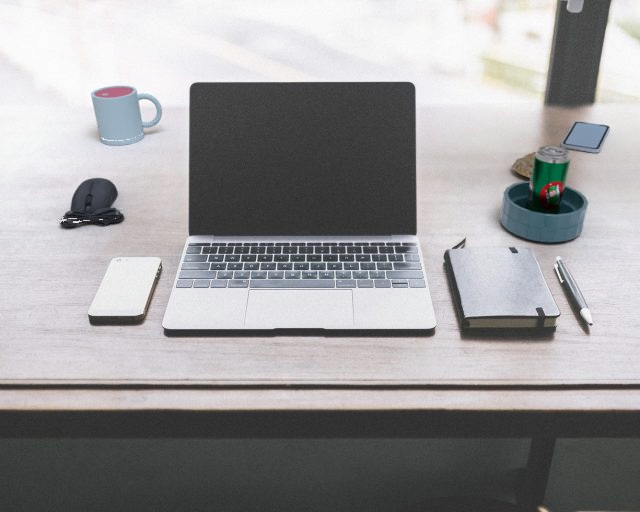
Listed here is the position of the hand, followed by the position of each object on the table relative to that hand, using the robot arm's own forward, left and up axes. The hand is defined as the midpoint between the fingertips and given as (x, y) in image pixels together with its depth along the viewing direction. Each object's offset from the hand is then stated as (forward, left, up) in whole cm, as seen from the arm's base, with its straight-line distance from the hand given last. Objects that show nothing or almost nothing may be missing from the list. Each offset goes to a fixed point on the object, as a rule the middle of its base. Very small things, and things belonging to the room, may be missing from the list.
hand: (567, 5), depth 89 cm
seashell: (-2, -11, -31) cm, 33 cm away
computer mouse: (+73, +12, -31) cm, 80 cm away
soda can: (0, +9, -31) cm, 32 cm away
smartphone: (-15, -31, -31) cm, 46 cm away
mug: (+81, -21, -31) cm, 89 cm away
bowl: (0, +9, -31) cm, 32 cm away
